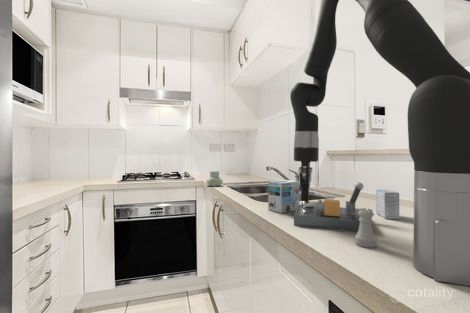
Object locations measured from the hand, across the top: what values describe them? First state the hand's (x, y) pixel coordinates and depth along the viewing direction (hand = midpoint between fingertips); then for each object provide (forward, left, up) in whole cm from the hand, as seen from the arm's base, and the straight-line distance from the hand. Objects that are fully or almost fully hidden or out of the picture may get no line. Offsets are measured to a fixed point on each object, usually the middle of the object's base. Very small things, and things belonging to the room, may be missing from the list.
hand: (304, 200), depth 78 cm
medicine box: (+14, -26, -6) cm, 30 cm away
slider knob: (-5, -8, -3) cm, 10 cm away
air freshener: (+68, +63, -6) cm, 93 cm away
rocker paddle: (0, -5, 0) cm, 5 cm away
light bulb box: (+11, +8, -6) cm, 15 cm away
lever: (+5, -14, -2) cm, 15 cm away
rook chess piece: (-19, -15, -6) cm, 25 cm away
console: (-1, -8, -6) cm, 10 cm away
